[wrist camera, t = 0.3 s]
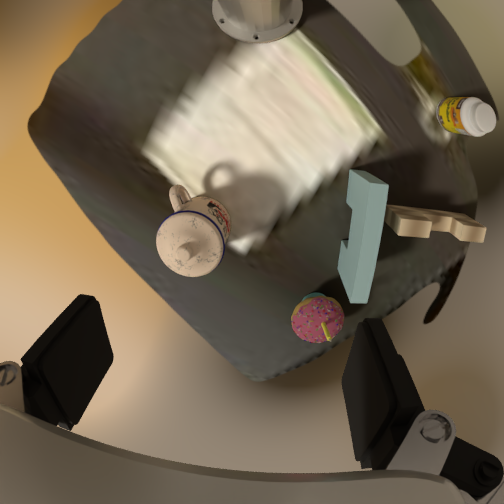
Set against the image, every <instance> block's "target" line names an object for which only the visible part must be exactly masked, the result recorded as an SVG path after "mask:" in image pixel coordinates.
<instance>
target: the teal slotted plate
mask: <svg viewBox="0 0 504 504" xmlns="http://www.w3.org/2000/svg"><path fill="white" fill-rule="evenodd" d="M388 188H389V185H388V184H386V183H385V182H383V181H382V180H380V179H378V178H377V177H375V176H373V175H371V174H370V173H368V172H366V171H362V170H352V169H350V171H349V182H348V192H347V201H346V202H347V204H348V205H349V206H350V207H351V208H352V210H353V211H352V219H351V226H350V233H349V240H342V242H341V249H340V255H339V262H338V271H339V274H340V277H341V279H342V282H343V285H344V287H345V290H346V293H347V295H348V298H349V301H350V303H367V301H368V297H369V293H370V288H371V284H372V280H373V275H374V270H375V266H376V261H377V256H378V250H379V245H380V240H381V234H382V228H383V222H384V216H385V209H386V203H387V195H388Z"/></svg>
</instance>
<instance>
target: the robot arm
mask: <svg viewBox="0 0 504 504" xmlns="http://www.w3.org/2000/svg"><path fill="white" fill-rule="evenodd" d="M302 11H303V2H302V0H213V3H212V13H213V16H214V19H215V21H216V23H217V24H218V26H219V27H220V28H221V30H222V31H224V32H225V33H226V34H227V35H229V36H231V37H232V38H234V39H237V40H239V41H242V42H247V43H268V42H272V41H276V40H278V39H280V38H282V37H284V36H286V35H287V34H289V33H290V32H291V31H292V30H293V29H294V28H295V27H296V26H297V24H298V23H299V21H300V18H301V16H302ZM223 21H224V23H221V22H223ZM290 22H293V24H290ZM256 37H258V39H257V40H256V39H255V38H256ZM21 361H22V363H23V365H22V366H21V367H20V366H19V365H18V364H17V363H15V362H13V361H6V362H3V363H0V504H504V477H503V474H504V471H503V466H502V464H501V462H500V461H499V459H498V458H496V457H495V456H494V455H492V454H490V453H488V452H486V451H483V450H481V449H479V448H477V447H475V446H473V445H471V444H469V443H467V442H466V441H464V440H462V439H460V438H457V437H456V436H455V435H456V427H455V424H454V422H453V420H452V419H451V418H450V417H449V416H448V415H447V414H445V413H443V412H441V411H437V410H427V411H425V409H424V406H423V404H422V401H421V399H420V397H419V394H418V392H417V389H416V387H415V384H414V382H413V380H412V377H411V375H410V373H409V371H408V368H407V366H406V364H405V361H404V359H403V358H402V356H401V355H399V354H397V351H396V349H395V347H394V345H393V342H392V340H391V338H390V336H389V334H388V332H387V329H386V327H385V325H384V323H383V321H382V319H380V318H365V319H364V321H363V322H359V324H358V326H357V330H356V333H355V337H354V340H353V344H352V347H351V351H350V354H349V357H348V361H347V364H346V367H345V370H344V373H343V376H342V389H343V393H344V398H345V403H346V409H347V415H348V419H349V425H350V431H351V437H352V442H353V449H354V454H355V459H356V461H360V463H361V468H362V469H365V468H372V470H370V471H353V472H339V473H338V472H337V473H264V472H249V471H237V470H227V469H219V468H211V467H204V466H198V465H191V464H186V463H179V462H175V461H170V460H165V459H160V458H155V457H151V456H147V455H143V454H139V453H135V452H132V451H128V450H124V449H121V448H117V447H114V446H110V445H107V444H104V443H101V442H98V441H95V440H92V439H89V438H86V437H83V436H81V435H78V434H75V433H72V432H70V431H71V430H72V428H73V426H74V425H76V424H78V422H79V421H80V419H81V417H82V415H83V413H84V411H85V410H86V408H87V406H88V404H89V402H90V400H91V399H92V397H93V395H94V393H95V392H96V390H97V388H98V387H99V385H100V383H101V381H102V379H103V378H104V376H105V374H106V373H107V371H108V369H109V367H110V366H111V364H112V362H113V352H112V348H111V345H110V342H109V338H108V335H107V331H106V327H105V323H104V320H103V316H102V312H101V308H100V304H99V302H98V301H97V300H96V299H95V297H94V296H89V295H84V294H80V295H78V296H77V298H75V300H74V301H73V302H72V303H71V304H70V305H69V306H68V307H67V308H66V309H65V310H64V311H63V312H62V313H61V314H60V315H59V316H58V317H57V318H56V320H55V321H54V322H53V323H52V324H51V325H50V326H49V327H48V328H47V329H46V330H45V332H44V333H43V334H42V335H41V336H40V337H39V338H38V339H37V341H36V342H35V343H34V344H33V345H32V346H31V348H30V349H29V350H28V351H27V352H26V353H25V354H24V356H23V357H22V358H21ZM57 425H59V426H60V427H62V428H64V429H62V428H60V427H57ZM65 429H67V430H69V431H67V430H65Z"/></svg>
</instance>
